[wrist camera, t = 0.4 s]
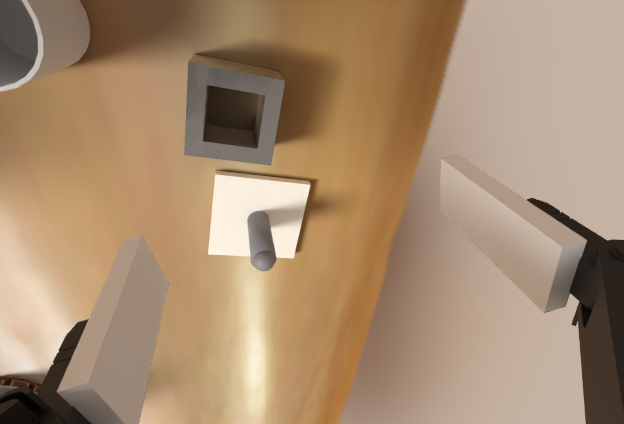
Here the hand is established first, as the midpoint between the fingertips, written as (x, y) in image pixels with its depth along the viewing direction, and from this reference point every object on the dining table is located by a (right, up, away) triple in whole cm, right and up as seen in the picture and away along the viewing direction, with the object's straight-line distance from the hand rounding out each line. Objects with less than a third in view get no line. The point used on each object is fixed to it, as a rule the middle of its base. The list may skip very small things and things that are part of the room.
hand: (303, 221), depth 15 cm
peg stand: (-6, 0, +24) cm, 25 cm away
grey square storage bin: (-7, +11, +18) cm, 22 cm away
